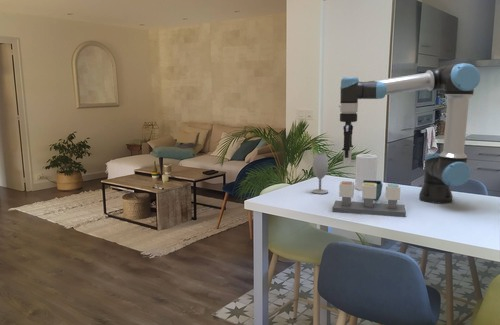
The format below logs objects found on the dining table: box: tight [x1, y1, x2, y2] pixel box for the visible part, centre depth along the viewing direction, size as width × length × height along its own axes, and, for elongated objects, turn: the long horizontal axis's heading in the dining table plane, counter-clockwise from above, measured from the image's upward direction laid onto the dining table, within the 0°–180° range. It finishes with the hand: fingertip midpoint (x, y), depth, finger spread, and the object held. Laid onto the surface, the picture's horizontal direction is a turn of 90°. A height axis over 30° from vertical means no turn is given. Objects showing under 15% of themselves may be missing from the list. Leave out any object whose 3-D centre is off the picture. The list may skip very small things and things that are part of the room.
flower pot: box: [363, 180, 383, 202], centre depth 212 cm, size 9×9×9 cm
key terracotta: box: [338, 180, 355, 198], centre depth 195 cm, size 6×6×6 cm
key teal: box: [385, 183, 402, 201], centre depth 190 cm, size 6×6×6 cm
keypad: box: [331, 197, 407, 218], centre depth 193 cm, size 31×13×7 cm, turn 73°
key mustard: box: [361, 182, 377, 199], centre depth 192 cm, size 6×6×6 cm
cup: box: [354, 153, 378, 191], centre depth 235 cm, size 11×11×18 cm
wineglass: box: [311, 152, 329, 195], centre depth 227 cm, size 9×9×21 cm
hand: (347, 163), depth 193 cm, fingers open, 8 cm apart
